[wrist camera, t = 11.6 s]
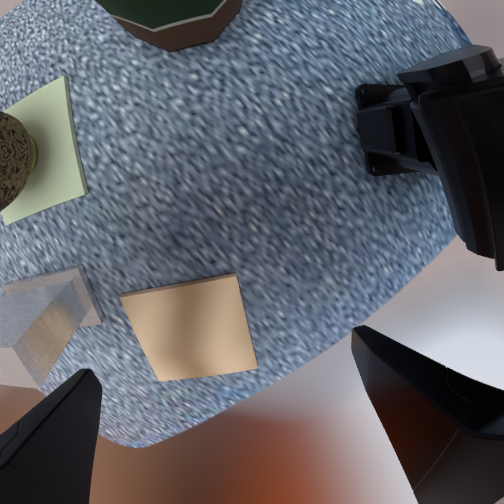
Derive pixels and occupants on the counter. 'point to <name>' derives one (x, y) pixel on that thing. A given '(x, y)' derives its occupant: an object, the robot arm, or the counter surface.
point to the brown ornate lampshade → (15, 158)
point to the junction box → (42, 322)
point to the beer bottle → (173, 20)
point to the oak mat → (192, 328)
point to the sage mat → (48, 151)
